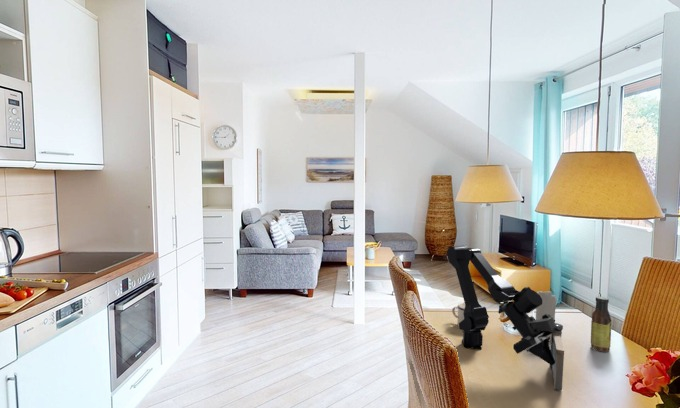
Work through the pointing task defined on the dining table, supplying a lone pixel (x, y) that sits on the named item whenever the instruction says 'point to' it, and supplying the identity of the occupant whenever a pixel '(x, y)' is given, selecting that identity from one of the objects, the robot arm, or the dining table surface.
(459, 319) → the teacup with lid
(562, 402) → the dining table surface
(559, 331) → the hinge post
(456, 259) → the robot arm
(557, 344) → the gate
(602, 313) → the sauce bottle
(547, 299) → the notched grey upright panel
